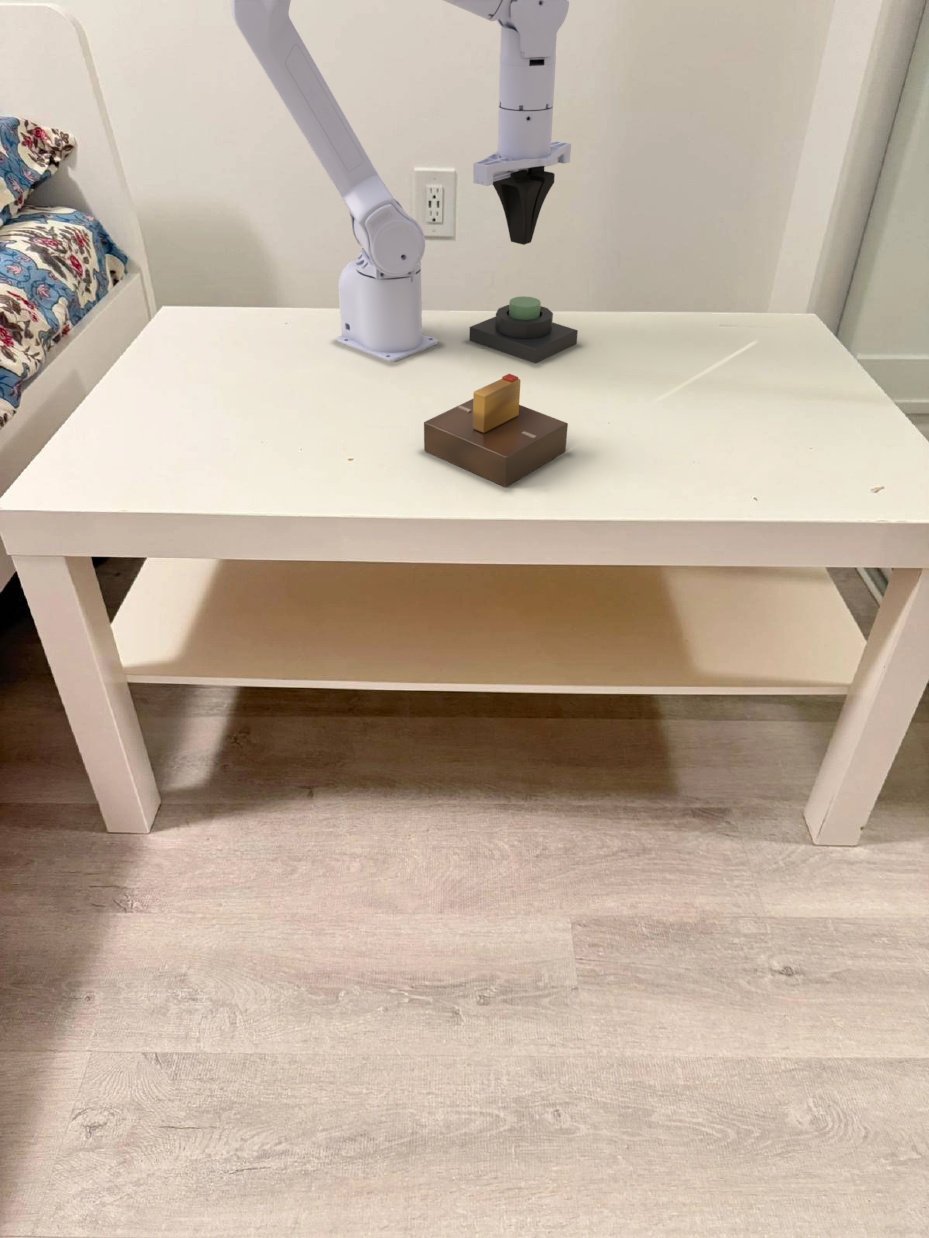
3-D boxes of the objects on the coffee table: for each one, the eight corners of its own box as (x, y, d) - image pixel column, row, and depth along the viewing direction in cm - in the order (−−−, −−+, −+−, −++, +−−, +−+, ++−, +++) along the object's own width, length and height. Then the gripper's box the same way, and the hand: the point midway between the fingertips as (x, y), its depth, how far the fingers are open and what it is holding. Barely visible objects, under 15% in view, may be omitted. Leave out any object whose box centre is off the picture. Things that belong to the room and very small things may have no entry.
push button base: (469, 340, 105) (469, 311, 102) (511, 323, 109) (512, 294, 107) (535, 363, 100) (537, 333, 97) (576, 344, 104) (579, 314, 102)
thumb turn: (484, 433, 80) (485, 393, 77) (472, 428, 80) (473, 389, 78) (518, 415, 82) (521, 376, 80) (507, 411, 83) (509, 372, 81)
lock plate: (423, 451, 83) (423, 420, 81) (485, 419, 88) (486, 390, 86) (505, 487, 78) (506, 456, 76) (565, 452, 83) (568, 421, 81)
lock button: (502, 317, 102) (503, 301, 101) (521, 309, 104) (522, 294, 103) (526, 324, 100) (527, 309, 99) (545, 316, 103) (546, 301, 102)
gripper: (511, 121, 86) (507, 264, 94) (597, 101, 94) (586, 234, 103) (457, 112, 89) (458, 251, 98) (544, 94, 98) (538, 223, 106)
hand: (520, 242), depth 101 cm, fingers closed
